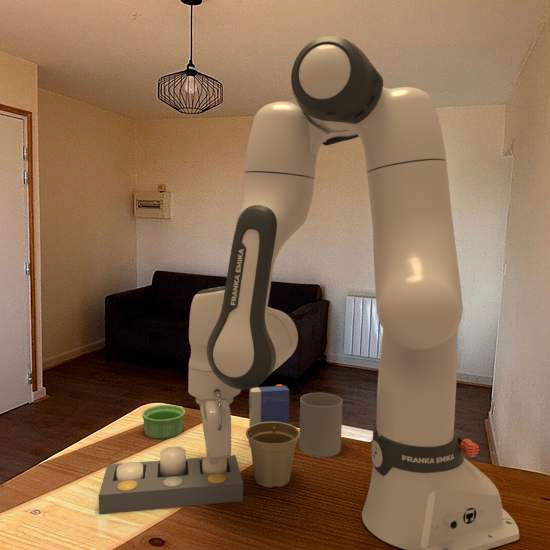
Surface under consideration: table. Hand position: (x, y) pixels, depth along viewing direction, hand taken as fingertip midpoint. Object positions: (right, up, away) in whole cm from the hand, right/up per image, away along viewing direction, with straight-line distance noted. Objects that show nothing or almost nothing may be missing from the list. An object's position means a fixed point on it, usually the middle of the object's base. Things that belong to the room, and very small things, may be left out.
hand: (213, 460), depth 84 cm
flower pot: (+10, -4, +2) cm, 11 cm away
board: (-6, -4, -3) cm, 8 cm away
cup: (+20, -3, +15) cm, 25 cm away
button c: (-14, -4, -3) cm, 14 cm away
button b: (-7, -1, -1) cm, 7 cm away
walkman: (+9, -3, +16) cm, 19 cm away
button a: (0, -3, 0) cm, 4 cm away
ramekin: (-13, -2, +22) cm, 25 cm away
